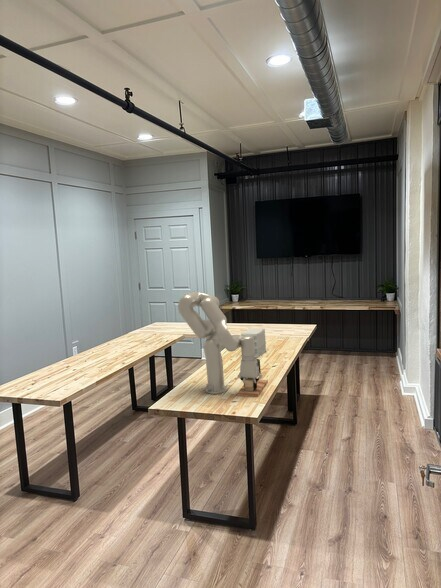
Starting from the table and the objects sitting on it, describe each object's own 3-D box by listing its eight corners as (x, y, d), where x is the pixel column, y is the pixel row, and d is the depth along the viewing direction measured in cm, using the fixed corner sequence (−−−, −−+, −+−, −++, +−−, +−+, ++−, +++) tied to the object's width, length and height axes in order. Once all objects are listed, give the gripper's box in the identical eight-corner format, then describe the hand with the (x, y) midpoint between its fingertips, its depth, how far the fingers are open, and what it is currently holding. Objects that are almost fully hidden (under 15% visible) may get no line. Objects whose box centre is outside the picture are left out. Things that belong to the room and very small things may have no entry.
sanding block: (252, 391, 235) (252, 381, 234) (245, 391, 237) (244, 381, 236) (256, 387, 241) (255, 377, 241) (248, 387, 243) (247, 377, 242)
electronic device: (248, 372, 276) (247, 357, 275) (260, 374, 270) (259, 359, 268) (244, 374, 273) (243, 359, 272) (257, 376, 266) (256, 360, 265)
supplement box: (250, 351, 330) (248, 328, 328) (266, 351, 324) (265, 328, 322) (242, 356, 314) (240, 333, 312) (258, 357, 309) (257, 333, 307)
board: (257, 397, 231) (257, 394, 230) (236, 395, 235) (236, 393, 234) (267, 382, 253) (267, 380, 253) (248, 381, 257) (248, 379, 257)
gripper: (264, 356, 238) (266, 387, 240) (236, 355, 243) (238, 386, 245) (261, 359, 231) (263, 392, 233) (232, 359, 236) (234, 390, 239)
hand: (250, 388), depth 239 cm, fingers closed on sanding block, 4 cm apart
